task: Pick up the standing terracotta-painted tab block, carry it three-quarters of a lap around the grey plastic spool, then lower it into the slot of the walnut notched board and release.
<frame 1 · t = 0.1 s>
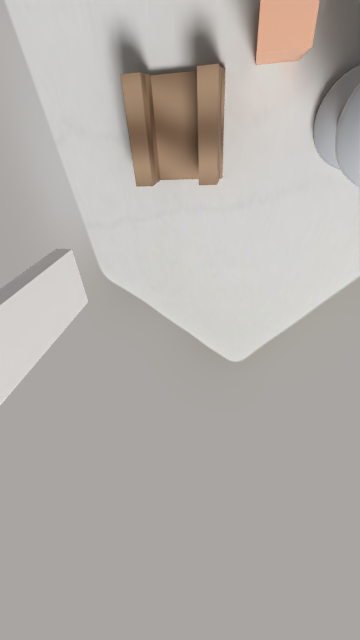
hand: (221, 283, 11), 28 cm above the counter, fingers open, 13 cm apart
tab: (279, 33, 26), on the counter
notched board: (180, 130, 32), on the counter
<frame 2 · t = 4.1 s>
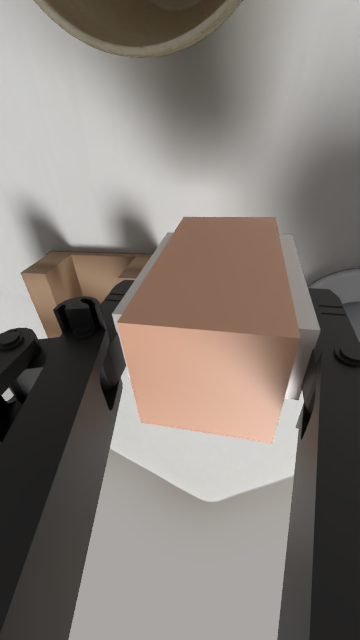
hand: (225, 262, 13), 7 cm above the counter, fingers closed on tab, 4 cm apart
tab: (226, 259, 13), point 7 cm above the counter, touching gripper
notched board: (117, 305, 25), on the counter
bobbin: (347, 322, 21), on the counter
when the fingers open (2 cm above the counter, at t = 10.5 s): tab stays where it is, resting on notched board.
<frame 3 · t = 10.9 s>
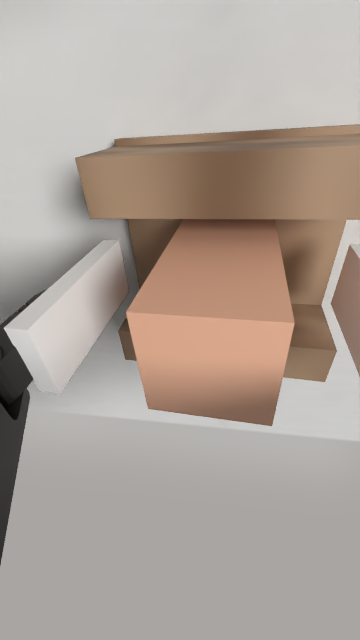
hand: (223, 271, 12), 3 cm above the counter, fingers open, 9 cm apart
tab: (227, 255, 14), point 1 cm above the counter, touching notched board
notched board: (227, 248, 14), on the counter
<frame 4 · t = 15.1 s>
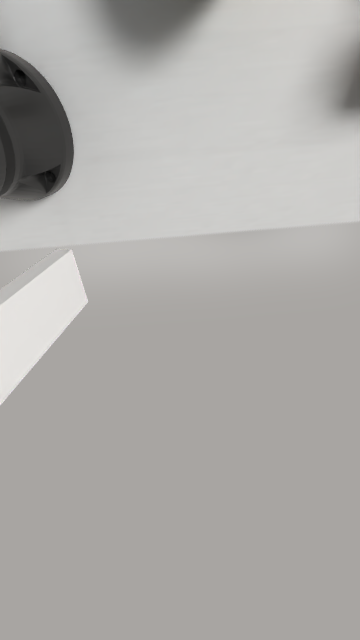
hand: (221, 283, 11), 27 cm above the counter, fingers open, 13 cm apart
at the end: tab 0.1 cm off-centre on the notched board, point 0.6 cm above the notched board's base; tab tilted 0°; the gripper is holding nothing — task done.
